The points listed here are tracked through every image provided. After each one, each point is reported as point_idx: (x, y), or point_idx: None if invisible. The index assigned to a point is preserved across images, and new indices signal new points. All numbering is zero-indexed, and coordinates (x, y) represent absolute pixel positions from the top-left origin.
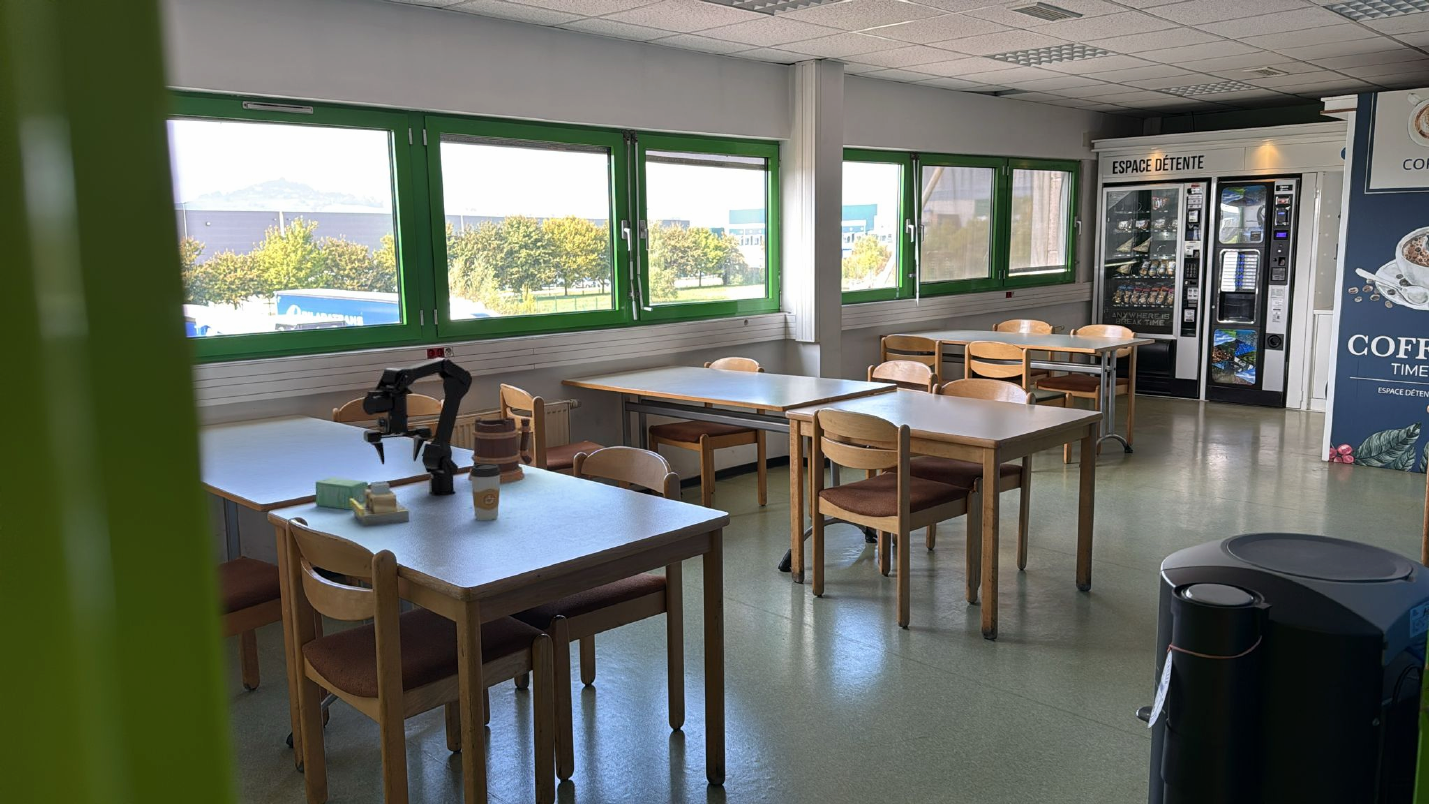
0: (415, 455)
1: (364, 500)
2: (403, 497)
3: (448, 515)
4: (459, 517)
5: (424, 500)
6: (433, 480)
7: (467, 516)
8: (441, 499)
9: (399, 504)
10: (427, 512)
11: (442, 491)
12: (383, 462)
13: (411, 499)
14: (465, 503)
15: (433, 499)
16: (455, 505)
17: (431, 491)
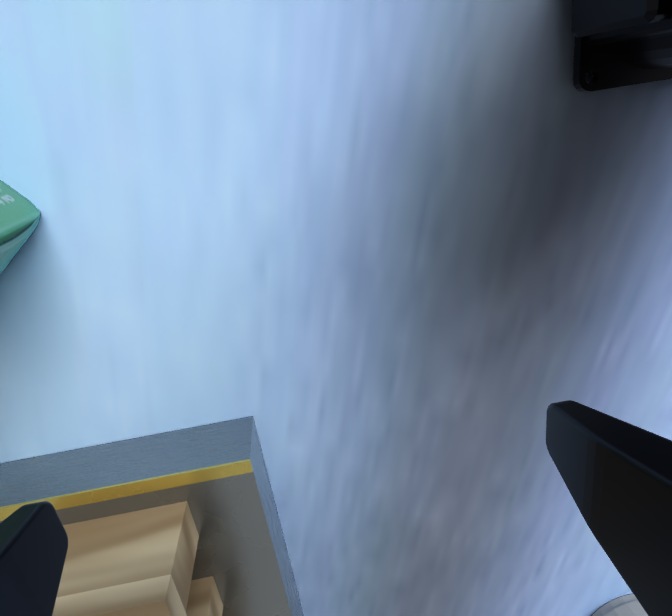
0: (617, 556)
1: (2, 269)
2: (330, 48)
3: (496, 564)
4: (529, 599)
5: (462, 215)
6: (662, 26)
7: (566, 592)
8: (574, 223)
9: (266, 561)
10: (415, 497)
11: (650, 67)
12: (46, 585)
13: (381, 149)
14: (659, 369)
15: (526, 205)
16: (593, 398)
17: (574, 31)
